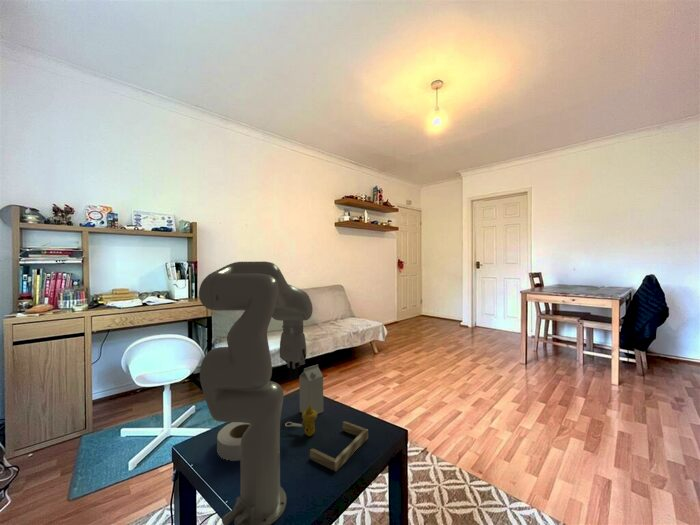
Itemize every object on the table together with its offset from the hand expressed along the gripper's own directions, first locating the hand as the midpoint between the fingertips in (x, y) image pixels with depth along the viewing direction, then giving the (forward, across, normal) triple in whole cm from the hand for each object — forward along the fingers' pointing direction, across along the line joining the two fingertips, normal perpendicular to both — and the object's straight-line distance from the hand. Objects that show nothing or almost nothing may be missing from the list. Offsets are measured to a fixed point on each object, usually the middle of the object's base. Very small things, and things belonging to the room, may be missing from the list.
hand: (293, 377), depth 106 cm
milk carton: (+19, -2, +12) cm, 23 cm away
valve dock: (+19, +21, 0) cm, 28 cm away
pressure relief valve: (+19, +5, -2) cm, 20 cm away
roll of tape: (+19, -7, -17) cm, 27 cm away
